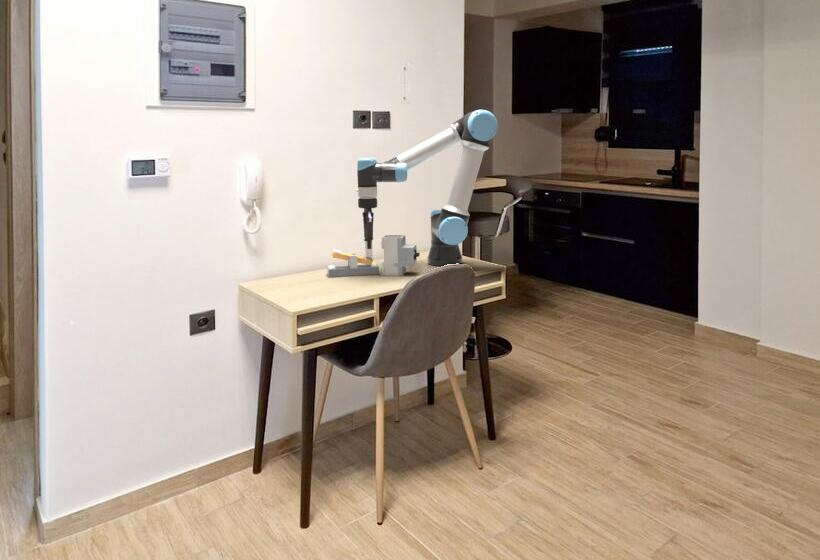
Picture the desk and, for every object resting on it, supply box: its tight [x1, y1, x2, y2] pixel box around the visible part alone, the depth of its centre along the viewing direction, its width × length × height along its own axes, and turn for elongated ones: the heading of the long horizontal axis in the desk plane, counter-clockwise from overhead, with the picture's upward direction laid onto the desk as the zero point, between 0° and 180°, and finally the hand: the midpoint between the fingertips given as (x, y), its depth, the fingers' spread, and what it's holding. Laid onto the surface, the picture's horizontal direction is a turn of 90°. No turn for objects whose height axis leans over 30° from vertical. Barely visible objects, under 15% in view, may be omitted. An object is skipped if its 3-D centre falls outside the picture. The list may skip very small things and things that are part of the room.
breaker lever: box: [331, 249, 374, 265], centre depth 259 cm, size 16×5×3 cm, turn 103°
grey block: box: [326, 252, 380, 278], centre depth 259 cm, size 20×7×8 cm, turn 101°
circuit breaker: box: [380, 234, 421, 277], centre depth 257 cm, size 8×14×15 cm, turn 78°
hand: (368, 256), depth 260 cm, fingers closed
